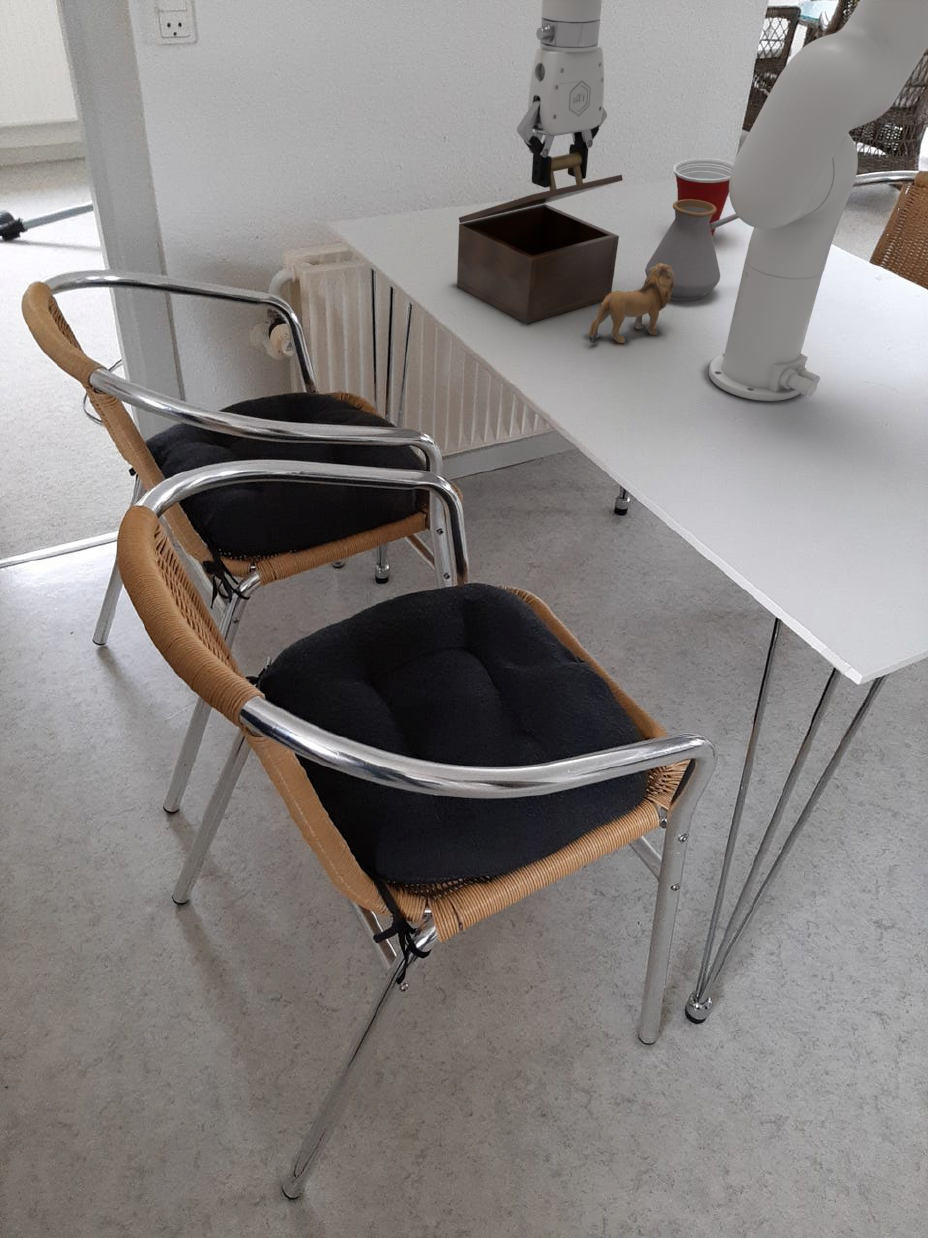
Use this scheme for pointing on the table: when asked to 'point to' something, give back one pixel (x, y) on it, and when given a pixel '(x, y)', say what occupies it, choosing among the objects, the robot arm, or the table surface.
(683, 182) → the plastic cup
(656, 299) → the lion figurine
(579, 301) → the chest
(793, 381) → the robot arm
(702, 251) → the coffee pot
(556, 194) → the lid
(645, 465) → the table surface
